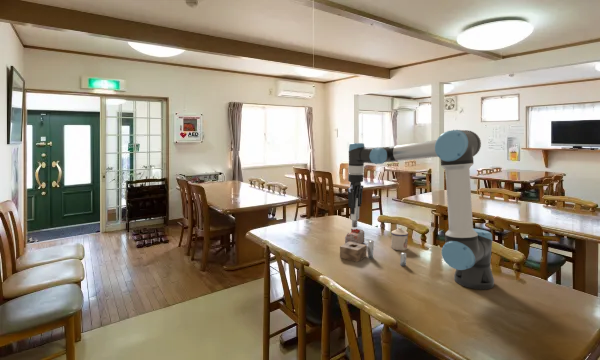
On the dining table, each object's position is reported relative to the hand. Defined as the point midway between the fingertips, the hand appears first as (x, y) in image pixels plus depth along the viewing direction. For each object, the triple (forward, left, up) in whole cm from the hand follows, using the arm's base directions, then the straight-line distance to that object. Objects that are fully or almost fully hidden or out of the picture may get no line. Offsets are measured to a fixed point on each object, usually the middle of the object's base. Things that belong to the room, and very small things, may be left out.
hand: (354, 219), depth 172 cm
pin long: (0, 0, -4) cm, 4 cm away
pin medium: (-8, -4, -20) cm, 22 cm away
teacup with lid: (-14, -29, -20) cm, 38 cm away
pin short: (-25, -4, -20) cm, 32 cm away
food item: (+8, -17, -20) cm, 28 cm away
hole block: (0, 0, -20) cm, 20 cm away
